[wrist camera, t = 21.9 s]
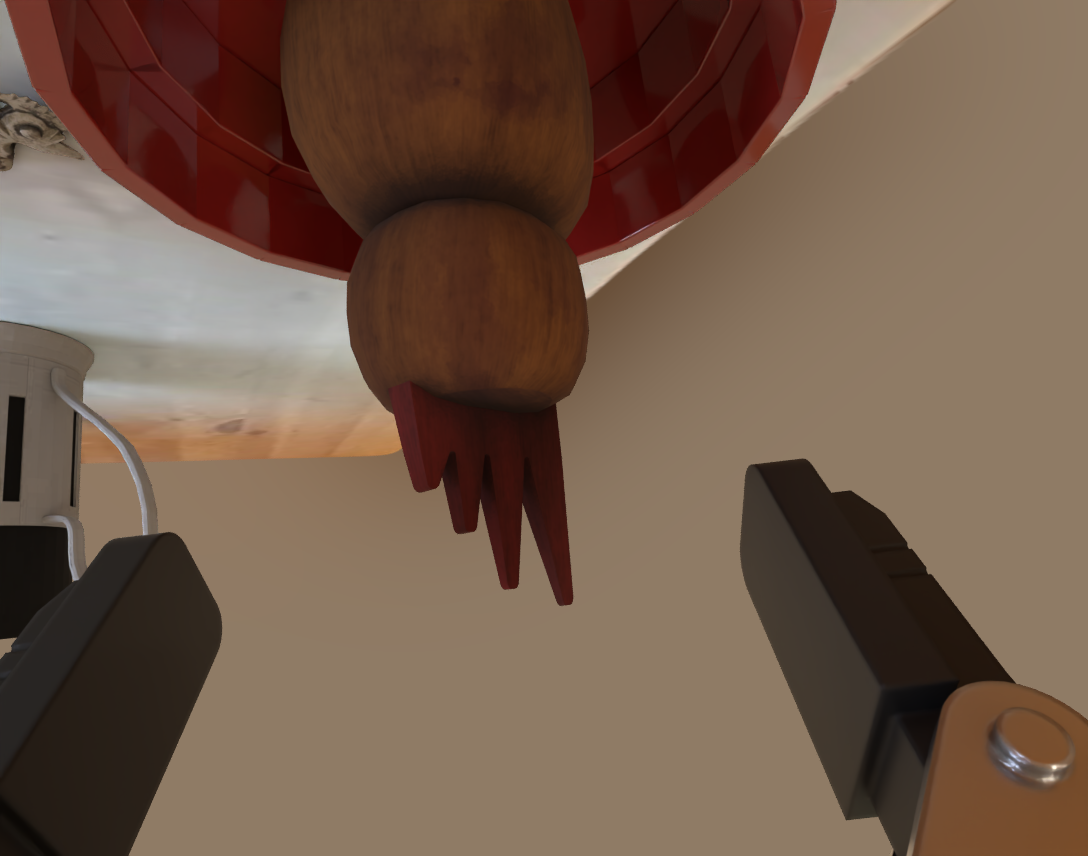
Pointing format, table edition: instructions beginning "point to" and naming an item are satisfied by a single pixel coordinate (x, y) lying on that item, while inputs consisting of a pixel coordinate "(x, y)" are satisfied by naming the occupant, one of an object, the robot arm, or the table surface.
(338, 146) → the wooden figurine
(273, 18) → the bowl
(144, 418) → the table surface
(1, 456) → the glass holder
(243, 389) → the table surface
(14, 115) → the nutcracker
